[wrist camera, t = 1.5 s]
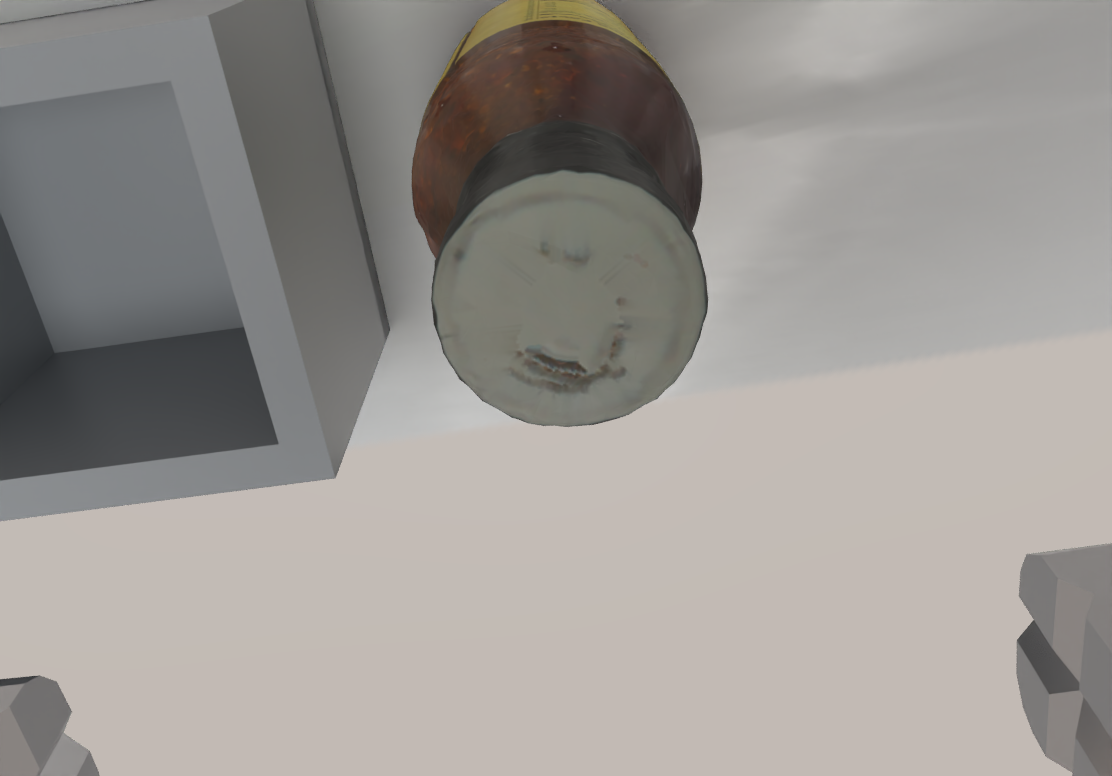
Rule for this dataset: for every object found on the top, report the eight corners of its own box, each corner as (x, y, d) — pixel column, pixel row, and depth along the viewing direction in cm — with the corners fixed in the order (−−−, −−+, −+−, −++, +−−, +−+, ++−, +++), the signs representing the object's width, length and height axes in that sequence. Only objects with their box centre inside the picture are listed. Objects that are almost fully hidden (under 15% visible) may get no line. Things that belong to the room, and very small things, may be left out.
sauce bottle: (549, 226, 35) (539, 593, 17) (409, 88, 33) (235, 340, 15) (698, 84, 33) (863, 332, 15) (558, -72, 31) (558, 5, 13)
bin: (307, -26, 32) (207, 15, 23) (389, 329, 37) (335, 478, 28) (-88, 37, 33) (-335, 101, 24) (45, 377, 38) (-116, 536, 29)
